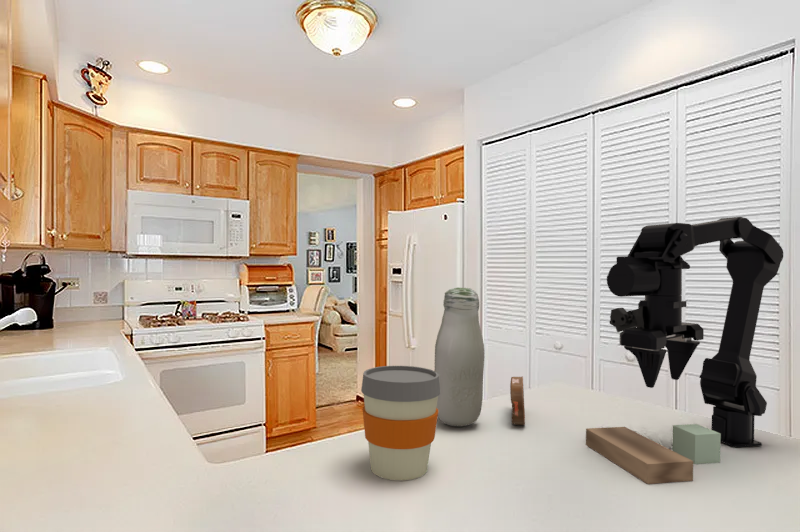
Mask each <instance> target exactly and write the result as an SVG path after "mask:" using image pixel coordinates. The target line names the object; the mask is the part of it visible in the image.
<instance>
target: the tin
mask: <svg viewBox="0 0 800 532" xmlns="http://www.w3.org/2000/svg"><path fill="white" fill-rule="evenodd" d="M509 387H510V388H509V391H510V395H509V396H510V403H511V424H512V425H515V426H524V427H525V425H526V415H525V414H526V413H525V411H526V410H525V398H524V397H525V393H524V376H511V377H510V384H509Z"/></svg>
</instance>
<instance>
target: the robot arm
mask: <svg viewBox="0 0 800 532" xmlns="http://www.w3.org/2000/svg"><path fill="white" fill-rule="evenodd" d="M732 239H741V240H737V241H735V242H734V241H733V240H732ZM716 242H719V252H720V254H722V256H724V258H725V259H726V270H727V272H728V274H729V276H730V278H731V280H732V284H731V285H732V286H731V290H730V294H729V299H728V303H727V310H726V314H725V319H724V323H723V328H722V333H721V337H720V342H719V347H718V351H717V353H716V354H715V355H713V357H712V358H708V357H706V358H704V360H703V362H702V370H701V373H700V375H699V377H698V378H699V379H700V381H699V385H700V389H701V394H702V397H703V398H702V400H703V403H704V405H705V404H706V405H711V406H712V415H711V428H710V429H711V430H713V431H716V432H718V433H721V442H720V443H723V444H725V445H728V446H730V447H733V448H739V447H740V448H741V447H742V448H743V447H753V446H754V447H756V446H757V447H759V446H762V444H763V442H761V441H759V440H756V439H755V416H758V417H762V416H763V415H764V414H765V413H766V409H767V405H768V402H767V400H766V399H765V398H764V396H763V395H762V392H760V389H758V388H757V373H756V371H755V369H754V367H753V365H752V362H751V361H750V359H751V352H752V347H753V343H754V338H755V333H756V332H755V331H756V328H757V322H758V317H759V312H760V307H761V303H762V298H763V294H764V293H763V292H764V288H765V287H766V286H767V284H769V283H770V282H771V281H772V280H773V279H774V278H775V277H776V276H777V275H778V272H779V269H780V266H781V263H782V261H783V258H784V249H783V248H782V246H781V245H780V244H779V243H778V241H777V240H776V239H775V237H774V236H773V235H772V234H771V233H769V232H767V231H765V230H763V229H762V228H759V227H757V226H755V225H753V223H752V222H751V221H750V220H749V218H747V217H743V216H733V217H722V218H719V219H717V220H711V221H706V222H701V223H693V224H691V223H685V222H684V223H683V222H672V223H660V224H651V225H650V224H649V225H645V226H643V227H642V228H641V231H640V233H639V235H638V237H637V239H636V240H635V241H634V243H633V245H632V248H631V249H630V250H629V253H628V254H627V256H624V255H623V256H616V263H615V264H614V265H612V266H611V268H610V269H609V271H608V274H607V276H606V284H607V287H608V289H609V291H610V292H611V293H612V294H613V295H615V296H617V297H621V298H622V297H644V299H641V300H639V301H638V303H637V304H638V305H637V307H638V308H635V309H633V310H626V308H625V307H616V308H613V309H611V310H610V316H609V319H610V320H609V321H608V322H609V325H611V326H613V327H614V328H615V329H616V333H619V345H620V346H623V347H624V349H625V350H626V351H629V352H630V353H631V354H632V355H633V356H634V357H635V358H636V359H635V360H637V363H638V366H639V369H640V372H641V375H642V378H643V382H644V384H645V386H646V388H650V389H653V388H654V387H655V385H656V382H657V380H658V377H659V373H660V371H661V367H662V366H663V362H664V360H665V357H666V354H667V357H668V367H669V374H670V378H671V380H674V381H679V379H680V378H681V376H682V374H683V372H684V370H685V368H686V367H687V365H688V363H689V361H690V359H691V357H692V355H694V353H695V351H696V349H697V348H698V346H699V345H700V344H701V342H700V341H702V340H704V338H705V337H704V330H705V329H704V328H703V327H702V326H701V325H700V324H699V323H693V322H682V320H683V319H682V317H683V315H682V314H683V311H682V309H683V308H687V300H683V299H682V295H683V291H682V290H683V288H682V286H683V283H682V282H683V274H682V273H683V270H689V269H690V268H691V265H690V264H689V262H687V261H686V260H684V259H683V258H682V256H683V255H686V254H687V253H690V252H692V251H693V250H695V247H697V246H701V245H704V244H705V245H706V244H711V243H716ZM665 348H666V349H665Z"/></svg>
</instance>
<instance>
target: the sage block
mask: <svg viewBox="0 0 800 532" xmlns="http://www.w3.org/2000/svg"><path fill="white" fill-rule="evenodd" d="M671 443H672V444H671V445H672V446H671V450H672V451H674V452H676V453H678V454H680V455H682V456H684V457H686V458H688V459H690V460H692V461H693V465H704V464H707V465H708V464H718V463H721V443H722V442H721V433H718V432H716V431H713V430H711V428H708V427H705V426H703V425H700V424H697V423H691V424H688V423H687V424H673V425H672V442H671Z"/></svg>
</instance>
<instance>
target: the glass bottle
mask: <svg viewBox="0 0 800 532" xmlns="http://www.w3.org/2000/svg"><path fill="white" fill-rule="evenodd" d="M478 295H479V294H478V293H477V291H475V290H474V289H473V288H471V287H470V288H469V287H454V288H451V289H448V290H447V291H446V292H444V297H443V308H444V310H443V315H442V317H441V324H440V327H439V328H438V332H437V335H436V339H435V345H434V370H433V371H436V372H437V373H438V374H439V382H440V395H439V396H438V400H437V406H436V408H437V409H438V418H437V419H439V420H440V421H441V422H442V423H443V424H445V425H447V426H451V427H459V428H460V427H465V426H469V425H472V424H474V423H475V422H476V421H477V420H478V419H479V417H480V415H481V412H482V407H483V393H484V392H483V390H484V387H483V386H484V371H485V359H486V358H485V357H486V356H485V344H484V338H483V335H482V329H481V325H480V319H479V317H480V316H479V310H480V299H479V296H478Z"/></svg>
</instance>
